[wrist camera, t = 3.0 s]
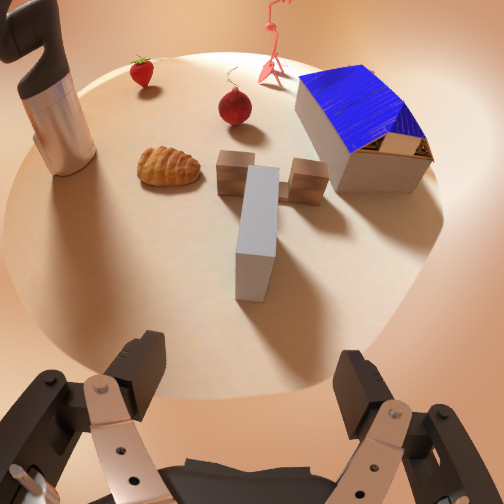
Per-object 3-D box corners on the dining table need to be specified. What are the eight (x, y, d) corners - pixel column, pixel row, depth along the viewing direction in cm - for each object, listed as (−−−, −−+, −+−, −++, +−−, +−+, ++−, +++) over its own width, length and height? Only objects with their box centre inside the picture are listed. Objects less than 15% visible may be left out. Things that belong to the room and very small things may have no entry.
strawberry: (130, 95, 53) (123, 61, 44) (137, 84, 57) (131, 52, 48) (153, 91, 53) (148, 56, 45) (158, 80, 57) (153, 48, 49)
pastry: (206, 163, 40) (205, 144, 37) (192, 194, 37) (189, 175, 33) (153, 157, 41) (149, 139, 37) (135, 186, 37) (128, 168, 34)
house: (413, 195, 40) (455, 126, 27) (333, 195, 38) (368, 104, 25) (359, 115, 53) (377, 57, 39) (292, 109, 51) (303, 43, 37)
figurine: (288, 64, 66) (299, -36, 36) (280, 97, 53) (294, -46, 23) (238, 59, 67) (240, -39, 37) (213, 91, 54) (210, -46, 24)
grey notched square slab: (263, 302, 29) (275, 257, 20) (235, 299, 29) (235, 252, 20) (268, 227, 34) (279, 168, 26) (244, 224, 34) (248, 164, 26)
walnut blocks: (217, 194, 36) (216, 164, 32) (221, 179, 38) (220, 150, 33) (318, 206, 37) (329, 178, 32) (317, 190, 38) (326, 162, 33)
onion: (256, 127, 46) (259, 90, 39) (229, 136, 44) (229, 97, 37) (239, 114, 48) (241, 79, 41) (213, 122, 46) (212, 85, 39)
